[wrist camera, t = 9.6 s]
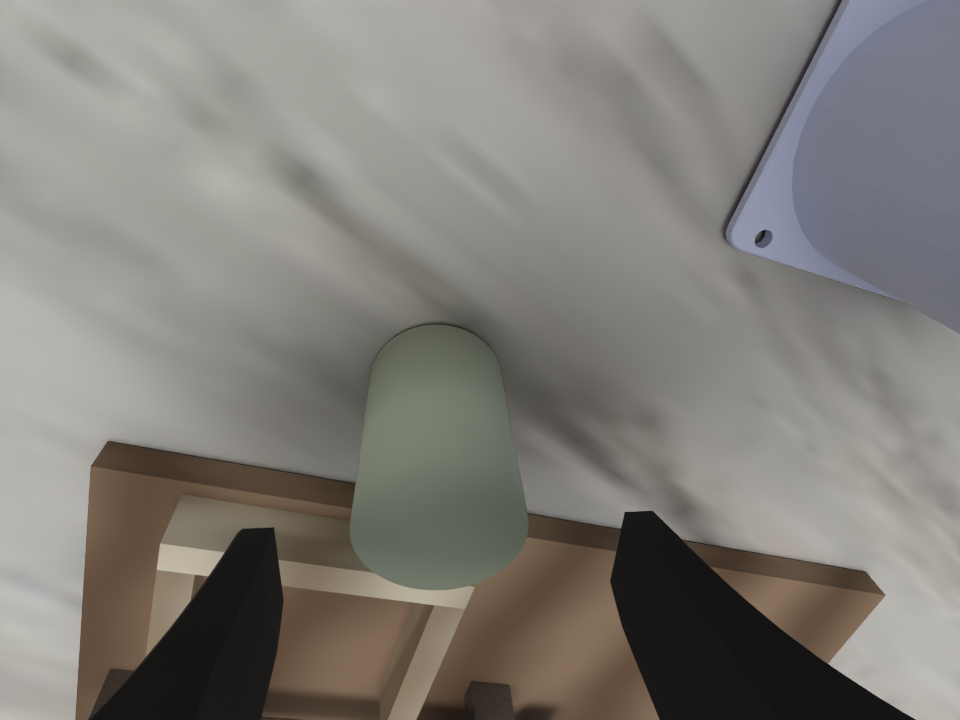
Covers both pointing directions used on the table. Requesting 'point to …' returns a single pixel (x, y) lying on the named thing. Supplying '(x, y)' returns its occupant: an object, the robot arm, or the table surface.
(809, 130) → the robot arm
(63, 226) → the table surface
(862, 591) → the walnut base with seat
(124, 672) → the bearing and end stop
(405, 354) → the cylinder
